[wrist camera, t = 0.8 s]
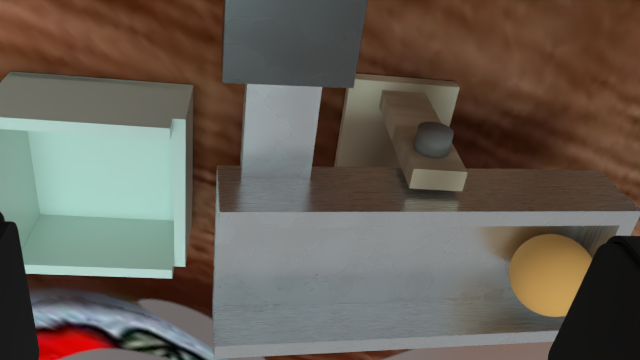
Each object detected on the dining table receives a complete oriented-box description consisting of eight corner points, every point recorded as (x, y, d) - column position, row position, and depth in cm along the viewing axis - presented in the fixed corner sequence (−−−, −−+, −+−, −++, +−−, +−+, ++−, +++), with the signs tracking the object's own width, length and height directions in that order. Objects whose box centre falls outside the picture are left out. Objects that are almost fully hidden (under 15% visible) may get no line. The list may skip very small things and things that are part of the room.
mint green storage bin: (193, 85, 32) (172, 175, 25) (191, 223, 37) (174, 334, 30) (10, 71, 31) (-70, 162, 24) (33, 216, 36) (-26, 329, 28)
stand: (457, 72, 33) (514, 154, 26) (410, 256, 40) (444, 362, 33) (350, 63, 32) (376, 145, 25) (320, 252, 39) (334, 360, 32)
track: (656, -41, 27) (748, -4, 22) (531, 270, 37) (578, 340, 32) (223, -83, 23) (229, -49, 19) (211, 278, 33) (213, 358, 28)
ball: (571, 214, 31) (628, 265, 28) (547, 273, 33) (597, 327, 30) (506, 222, 30) (557, 276, 26) (484, 283, 32) (530, 340, 29)
